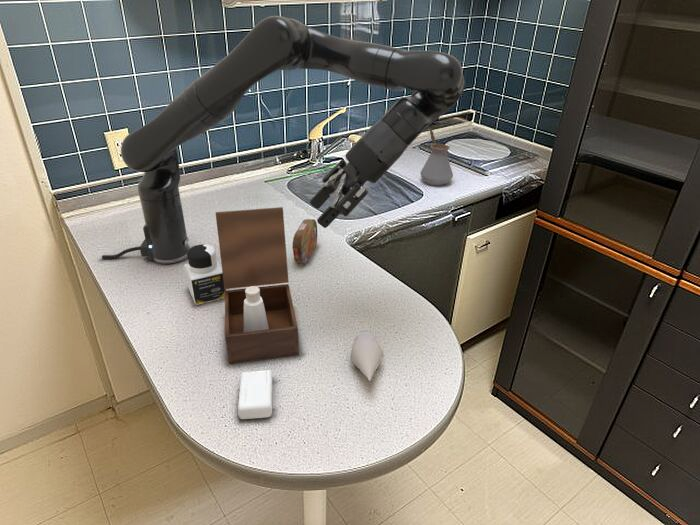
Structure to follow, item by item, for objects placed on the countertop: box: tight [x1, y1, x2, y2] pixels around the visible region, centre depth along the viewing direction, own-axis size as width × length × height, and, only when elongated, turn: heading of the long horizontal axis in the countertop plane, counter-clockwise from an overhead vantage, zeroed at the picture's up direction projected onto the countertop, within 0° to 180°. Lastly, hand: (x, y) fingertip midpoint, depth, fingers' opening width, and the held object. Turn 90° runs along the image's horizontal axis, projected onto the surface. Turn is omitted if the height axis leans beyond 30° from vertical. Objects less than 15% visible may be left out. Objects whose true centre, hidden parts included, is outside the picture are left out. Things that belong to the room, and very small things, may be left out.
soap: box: [237, 369, 273, 420], centre depth 86 cm, size 9×6×3 cm, turn 7°
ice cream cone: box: [350, 330, 384, 382], centre depth 92 cm, size 6×6×15 cm
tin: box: [292, 218, 318, 264], centre depth 128 cm, size 15×3×8 cm, turn 168°
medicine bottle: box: [184, 243, 227, 306], centre depth 111 cm, size 7×7×12 cm
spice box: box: [224, 283, 300, 365], centre depth 100 cm, size 15×13×7 cm
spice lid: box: [215, 206, 289, 290], centre depth 102 cm, size 16×13×1 cm
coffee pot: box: [419, 128, 454, 187], centre depth 177 cm, size 21×12×15 cm, turn 4°
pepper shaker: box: [243, 286, 269, 332], centre depth 98 cm, size 5×5×11 cm
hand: (316, 214), depth 93 cm, fingers open, 8 cm apart
